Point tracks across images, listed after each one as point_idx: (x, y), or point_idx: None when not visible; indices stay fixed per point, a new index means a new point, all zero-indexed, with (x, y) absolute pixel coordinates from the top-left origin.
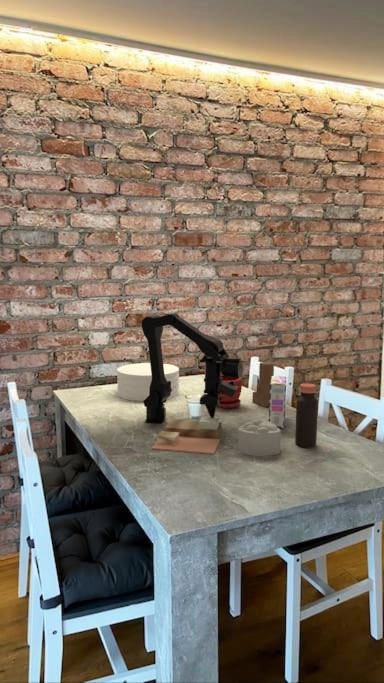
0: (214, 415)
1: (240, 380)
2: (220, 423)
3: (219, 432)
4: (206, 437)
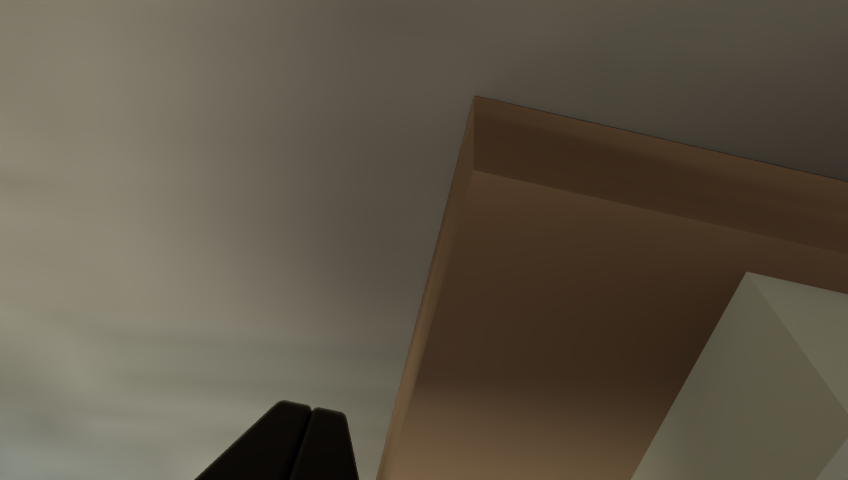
0: (284, 442)
1: None
2: (582, 211)
3: (810, 191)
4: None
